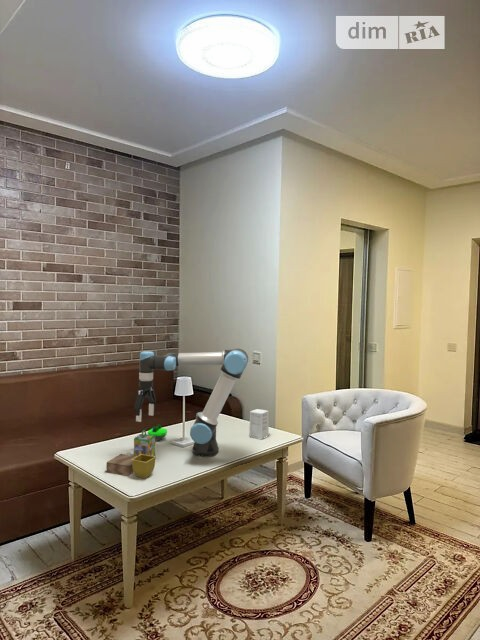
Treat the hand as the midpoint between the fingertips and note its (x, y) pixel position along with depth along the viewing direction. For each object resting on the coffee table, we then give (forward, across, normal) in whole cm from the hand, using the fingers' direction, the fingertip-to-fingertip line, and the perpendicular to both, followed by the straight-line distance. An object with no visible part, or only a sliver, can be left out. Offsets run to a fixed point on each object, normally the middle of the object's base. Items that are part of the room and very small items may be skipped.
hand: (145, 418), depth 243 cm
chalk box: (+22, 0, 0) cm, 22 cm away
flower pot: (+22, +23, +13) cm, 34 cm away
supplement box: (+21, -60, +49) cm, 81 cm away
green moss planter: (+22, -30, -8) cm, 38 cm away
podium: (+22, +19, 0) cm, 29 cm away
